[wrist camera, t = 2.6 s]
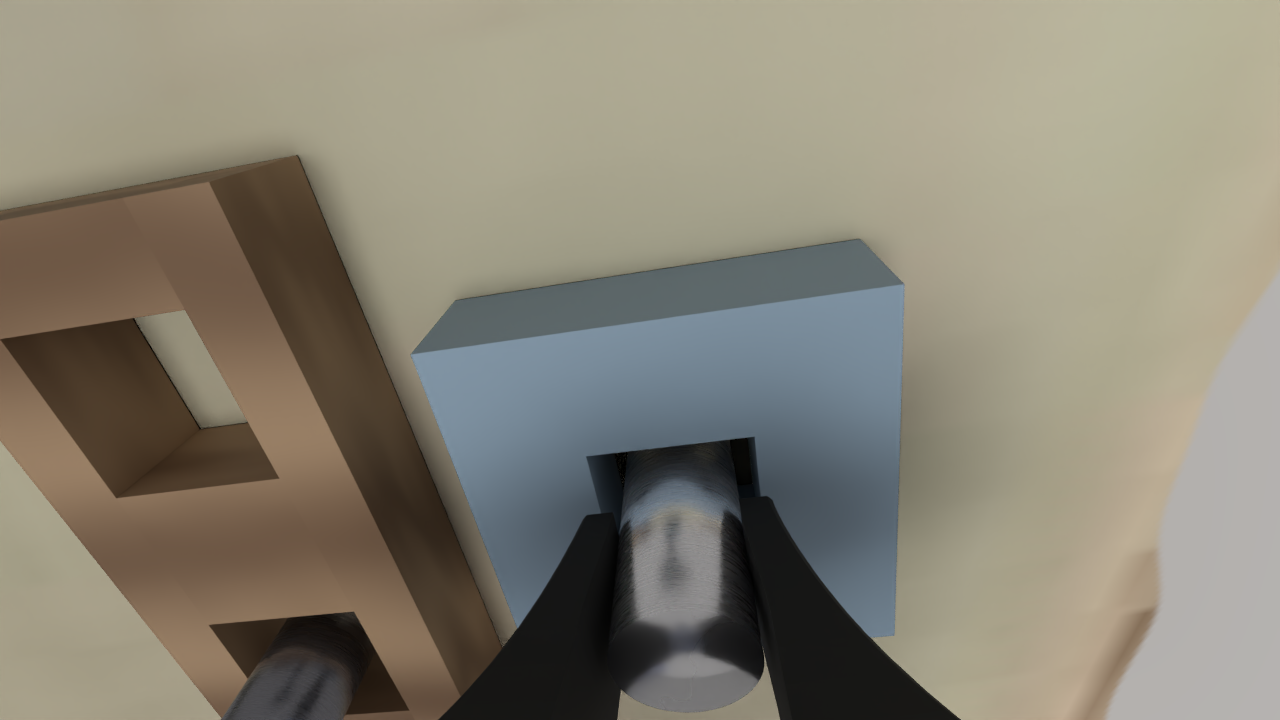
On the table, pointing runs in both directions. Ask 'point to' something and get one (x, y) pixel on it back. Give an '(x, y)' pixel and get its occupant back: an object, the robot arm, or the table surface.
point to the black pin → (307, 671)
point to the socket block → (683, 405)
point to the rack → (232, 434)
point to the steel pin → (683, 583)
